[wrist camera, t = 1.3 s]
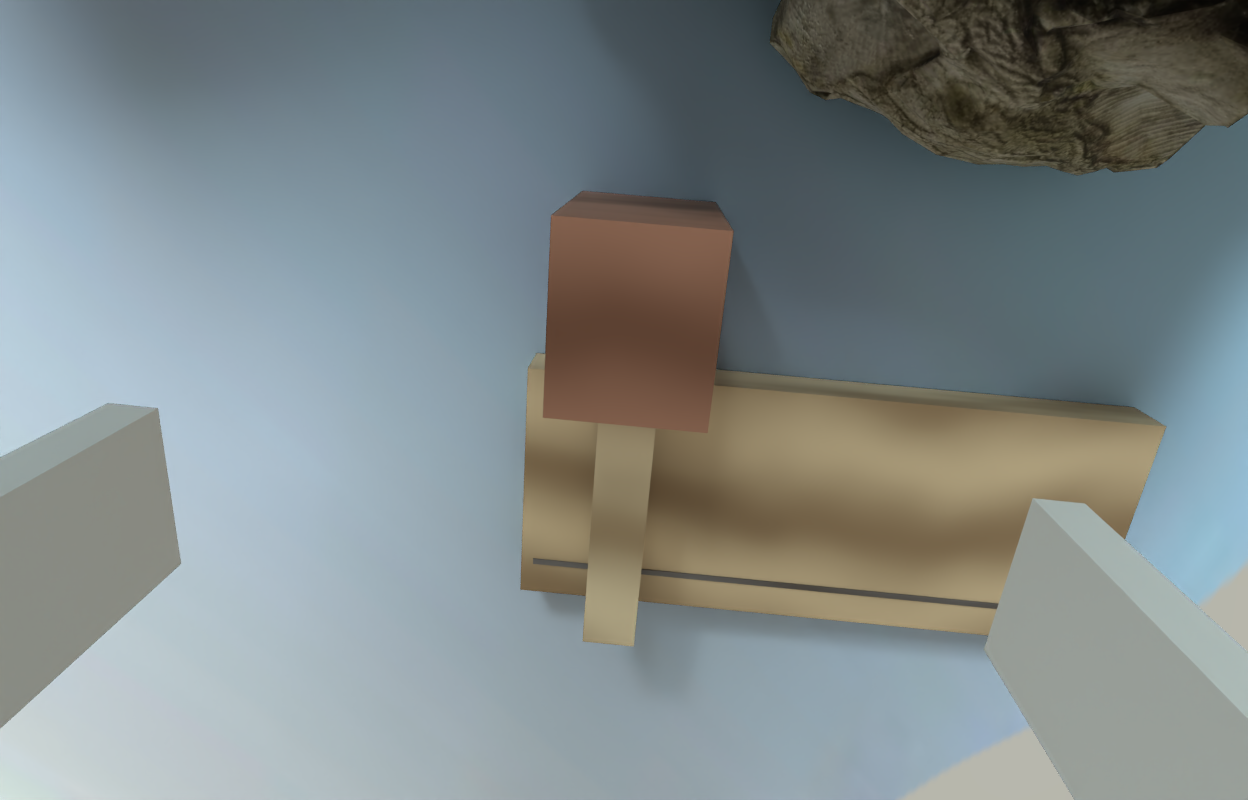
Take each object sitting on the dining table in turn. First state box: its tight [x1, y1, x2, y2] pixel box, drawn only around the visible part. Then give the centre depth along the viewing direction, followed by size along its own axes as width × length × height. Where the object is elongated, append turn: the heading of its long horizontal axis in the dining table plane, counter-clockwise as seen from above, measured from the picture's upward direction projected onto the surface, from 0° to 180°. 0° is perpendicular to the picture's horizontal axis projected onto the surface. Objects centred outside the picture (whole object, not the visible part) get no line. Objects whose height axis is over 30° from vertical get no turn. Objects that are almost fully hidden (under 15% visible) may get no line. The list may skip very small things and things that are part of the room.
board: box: [521, 353, 1166, 635], centre depth 30 cm, size 10×24×2 cm, turn 86°
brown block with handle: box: [543, 191, 734, 646], centre depth 27 cm, size 16×5×8 cm, turn 176°
